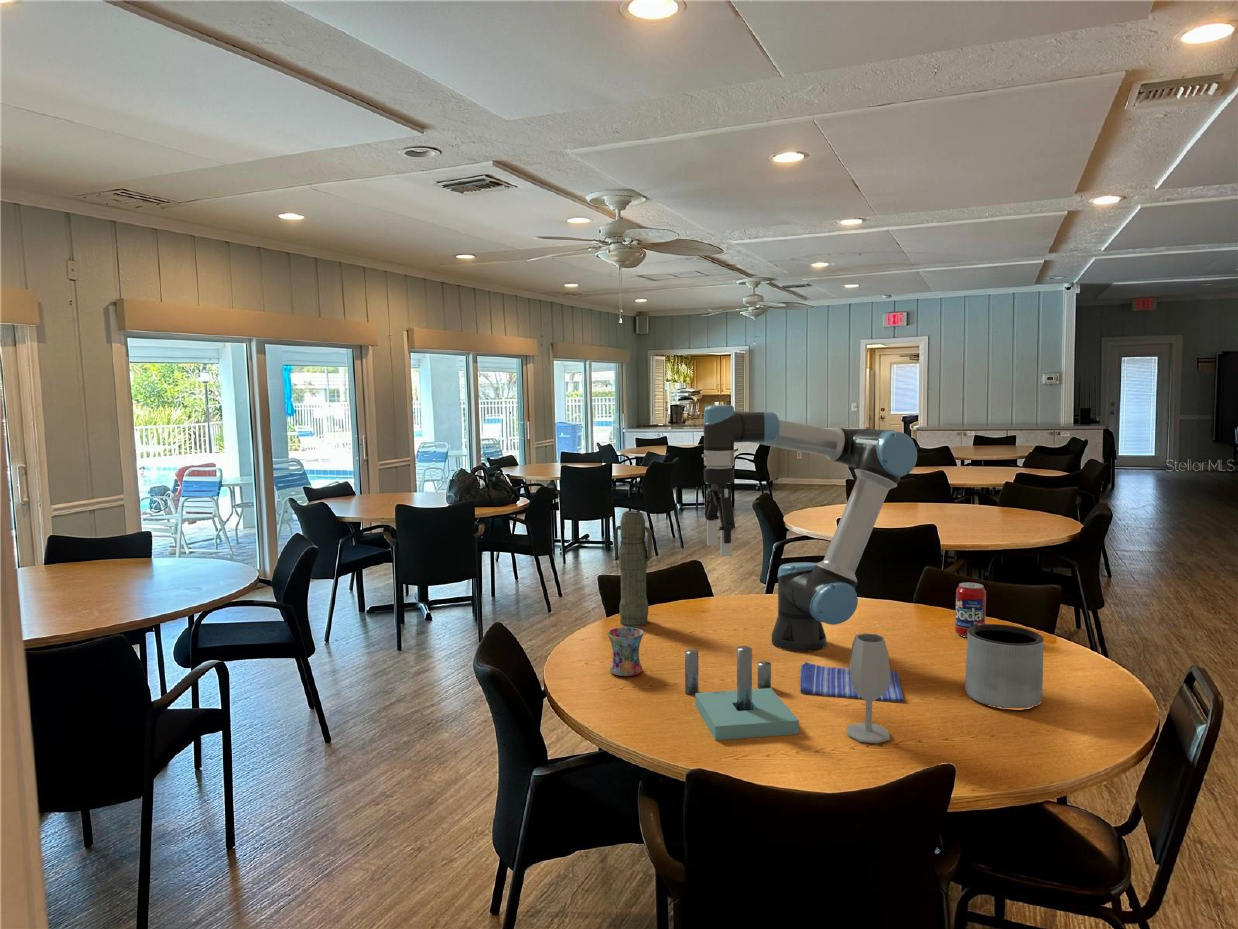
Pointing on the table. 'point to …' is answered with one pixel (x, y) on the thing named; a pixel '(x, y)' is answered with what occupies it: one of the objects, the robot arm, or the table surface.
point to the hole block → (746, 715)
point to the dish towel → (841, 683)
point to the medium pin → (691, 672)
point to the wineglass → (869, 683)
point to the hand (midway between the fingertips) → (719, 550)
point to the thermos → (633, 568)
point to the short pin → (764, 675)
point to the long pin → (744, 678)
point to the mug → (625, 650)
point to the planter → (1004, 666)
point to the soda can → (969, 607)
